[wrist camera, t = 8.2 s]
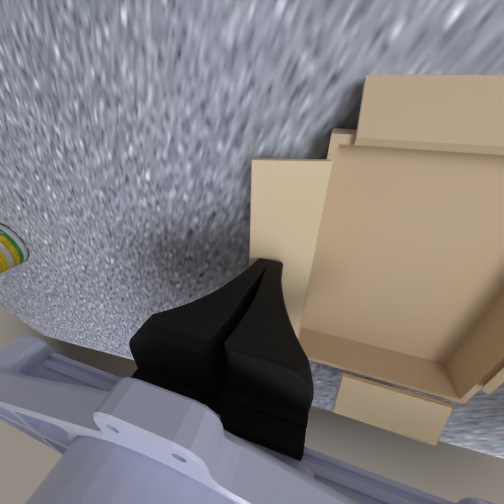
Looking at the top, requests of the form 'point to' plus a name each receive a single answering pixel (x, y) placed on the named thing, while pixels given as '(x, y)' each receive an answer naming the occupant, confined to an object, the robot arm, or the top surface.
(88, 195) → the top surface
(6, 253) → the supplement bottle
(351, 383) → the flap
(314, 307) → the carton
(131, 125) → the top surface
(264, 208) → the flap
